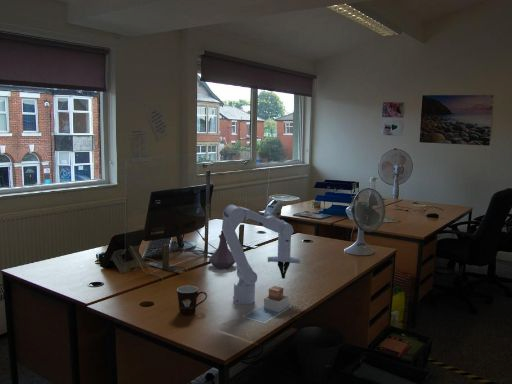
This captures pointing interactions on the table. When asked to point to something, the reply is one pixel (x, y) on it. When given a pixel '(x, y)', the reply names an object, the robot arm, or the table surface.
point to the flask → (222, 255)
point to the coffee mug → (188, 299)
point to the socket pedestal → (276, 304)
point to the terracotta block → (276, 293)
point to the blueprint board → (263, 314)
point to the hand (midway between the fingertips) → (283, 277)
